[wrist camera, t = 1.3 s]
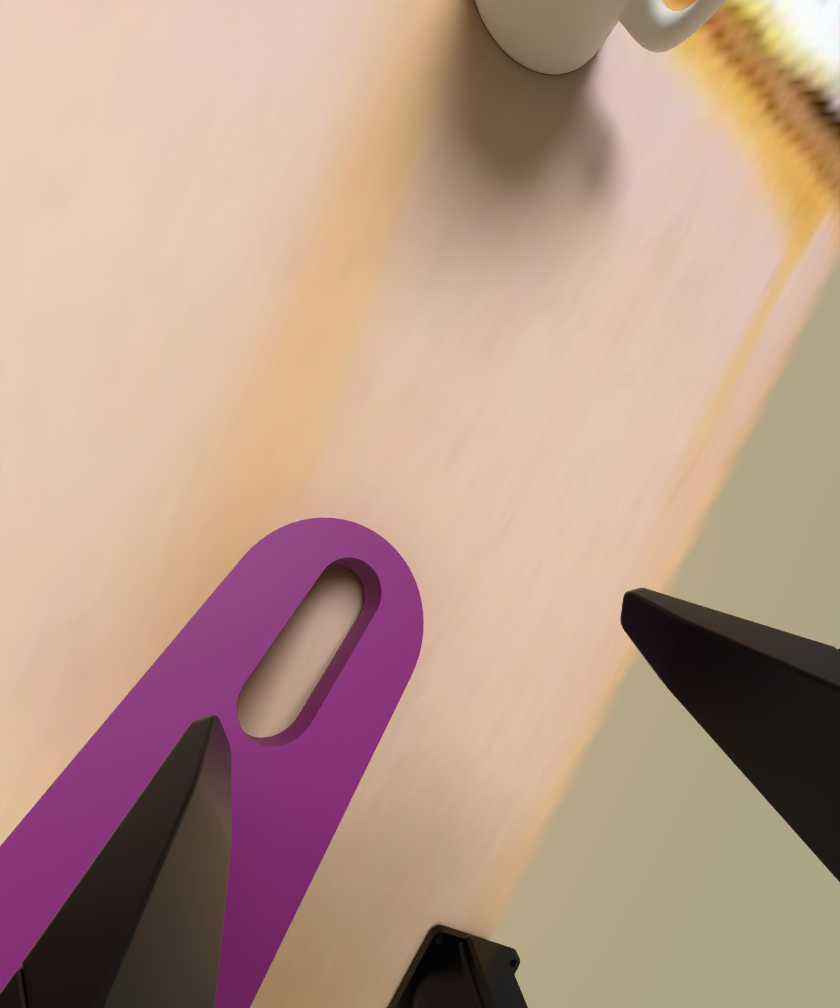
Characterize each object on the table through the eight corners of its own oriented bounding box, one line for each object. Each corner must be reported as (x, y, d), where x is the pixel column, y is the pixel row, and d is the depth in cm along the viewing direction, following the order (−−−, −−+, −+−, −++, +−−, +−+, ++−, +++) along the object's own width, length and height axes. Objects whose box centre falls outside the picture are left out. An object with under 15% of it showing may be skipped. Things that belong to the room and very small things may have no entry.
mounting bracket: (272, 522, 27) (0, 844, 18) (309, 478, 20) (-106, 969, 11) (384, 606, 29) (195, 933, 20) (452, 593, 22) (212, 1084, 13)
